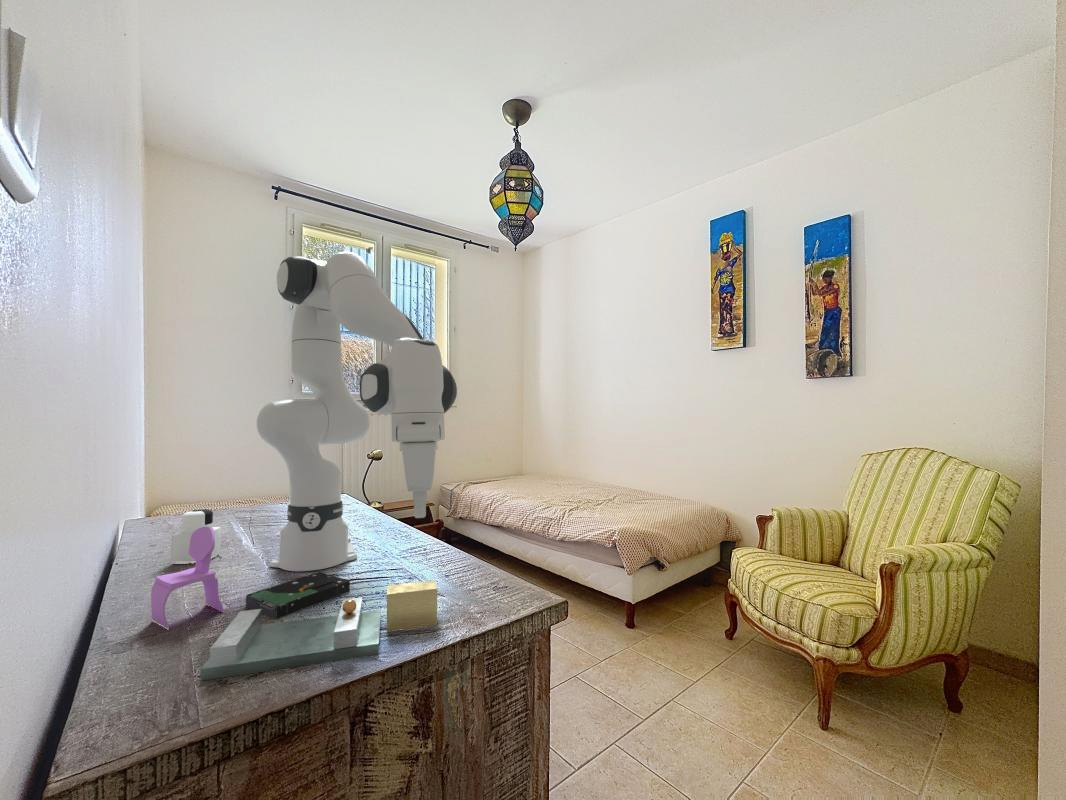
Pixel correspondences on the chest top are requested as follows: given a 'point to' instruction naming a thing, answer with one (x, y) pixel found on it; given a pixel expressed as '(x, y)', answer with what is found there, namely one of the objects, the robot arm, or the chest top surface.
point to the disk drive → (297, 594)
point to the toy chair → (189, 576)
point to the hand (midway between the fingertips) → (419, 512)
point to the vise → (284, 644)
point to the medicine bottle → (189, 525)
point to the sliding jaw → (348, 623)
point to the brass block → (411, 605)
